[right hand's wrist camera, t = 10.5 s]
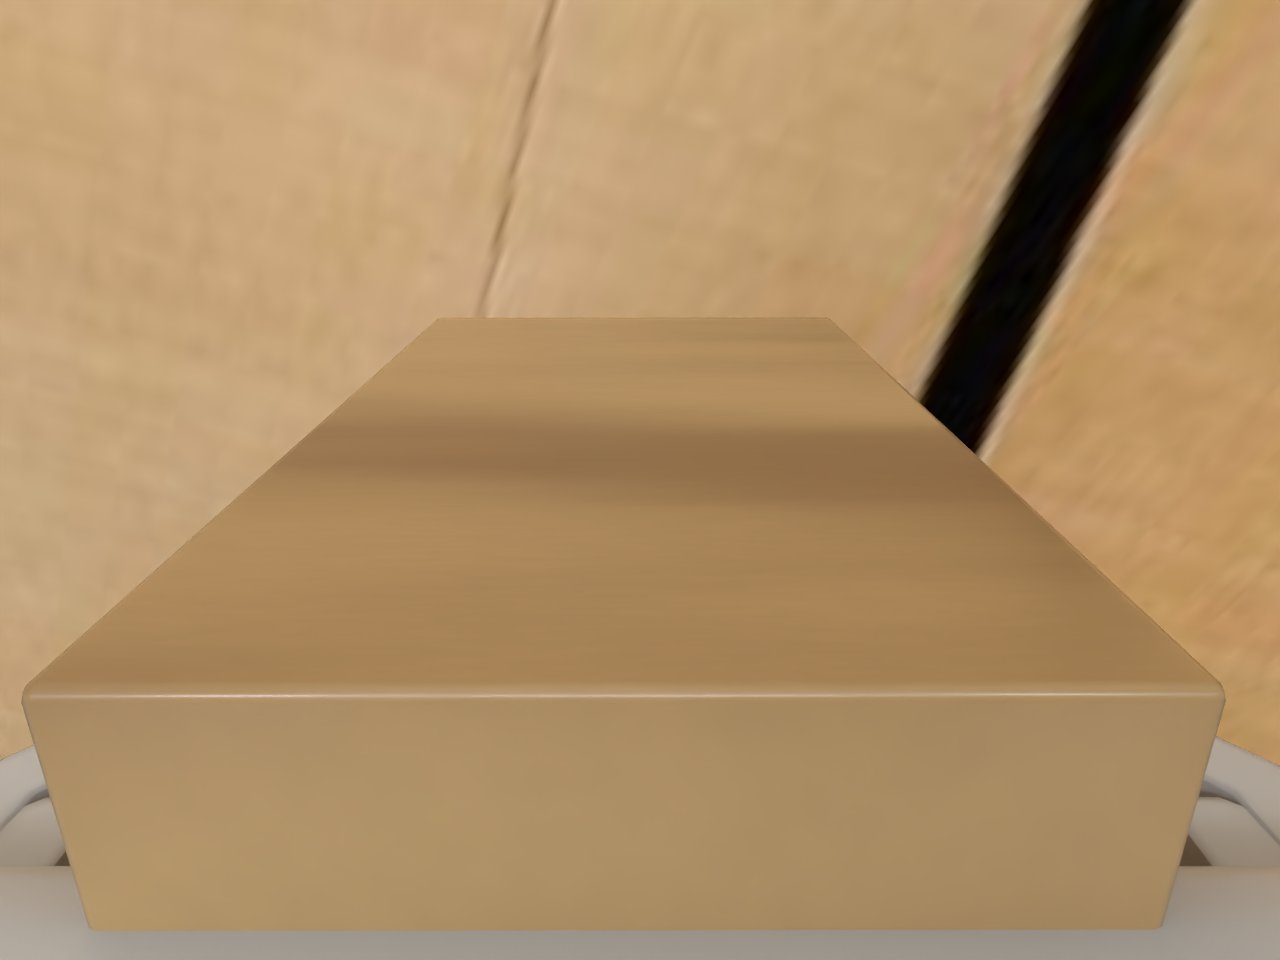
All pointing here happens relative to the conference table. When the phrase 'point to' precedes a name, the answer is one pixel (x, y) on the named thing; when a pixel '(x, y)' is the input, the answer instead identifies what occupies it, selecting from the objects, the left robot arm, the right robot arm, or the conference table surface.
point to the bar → (626, 666)
